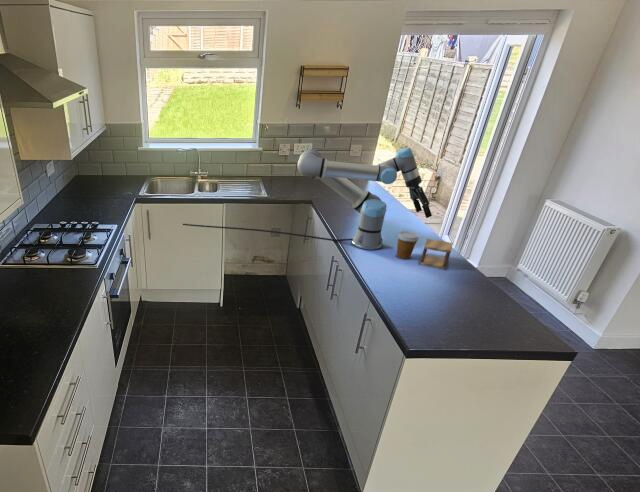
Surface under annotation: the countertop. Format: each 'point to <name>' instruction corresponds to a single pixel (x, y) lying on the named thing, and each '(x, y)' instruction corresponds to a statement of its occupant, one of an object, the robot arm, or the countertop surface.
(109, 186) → the countertop surface
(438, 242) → the oak rack
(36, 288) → the countertop surface
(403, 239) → the disposable coffee cup
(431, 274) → the countertop surface
